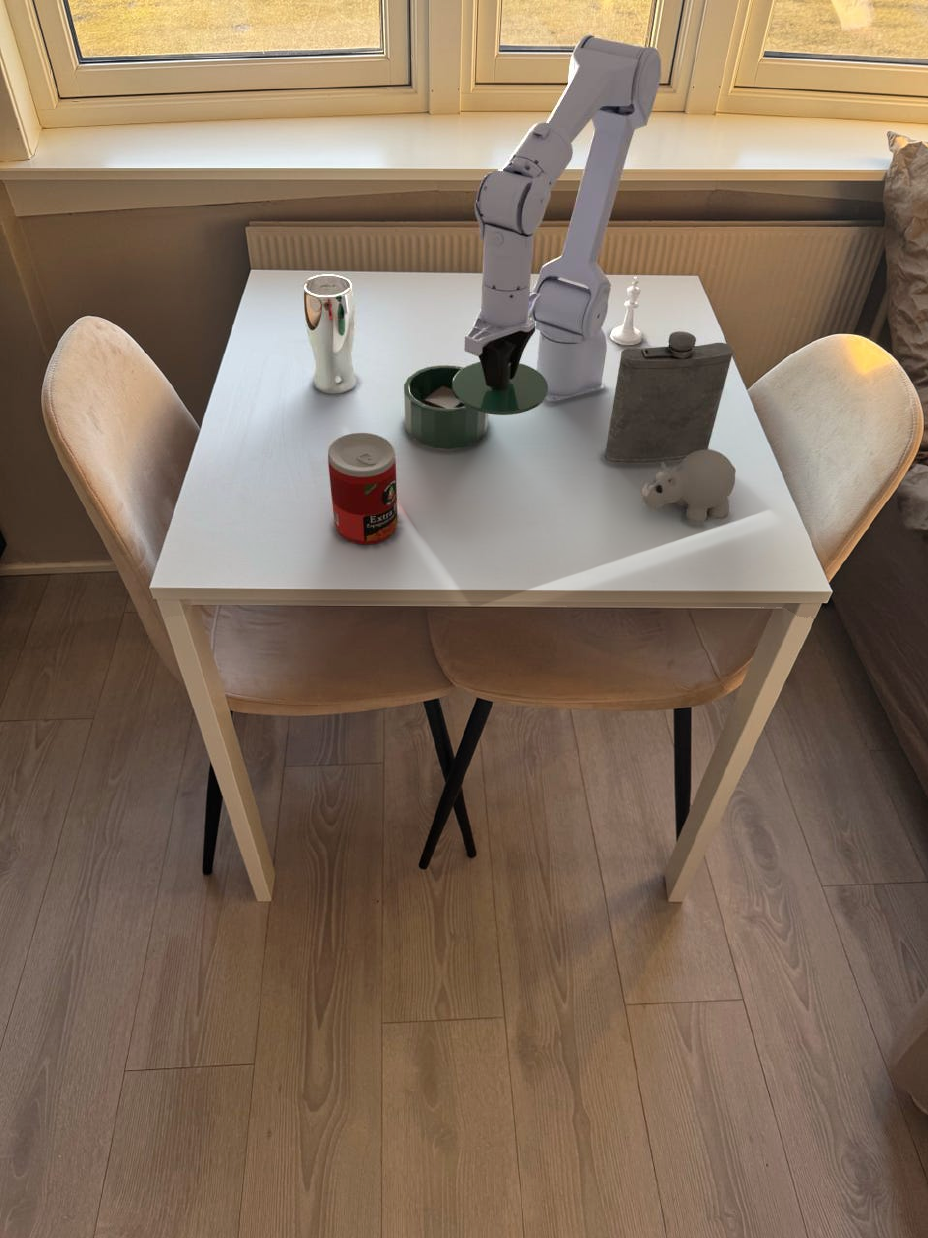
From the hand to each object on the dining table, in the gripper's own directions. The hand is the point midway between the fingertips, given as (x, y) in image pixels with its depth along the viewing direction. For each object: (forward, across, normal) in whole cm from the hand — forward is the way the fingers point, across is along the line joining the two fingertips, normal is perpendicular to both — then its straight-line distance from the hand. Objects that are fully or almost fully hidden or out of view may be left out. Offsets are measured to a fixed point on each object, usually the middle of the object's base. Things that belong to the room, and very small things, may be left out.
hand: (500, 381), depth 119 cm
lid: (+1, 0, 0) cm, 1 cm away
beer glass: (+10, -1, +28) cm, 29 cm away
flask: (+10, +10, -19) cm, 24 cm away
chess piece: (+10, +37, -1) cm, 38 cm away
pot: (+10, 0, +8) cm, 13 cm away
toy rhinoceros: (+10, +1, -27) cm, 29 cm away
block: (+10, 0, +8) cm, 12 cm away
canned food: (+10, -24, +4) cm, 26 cm away
